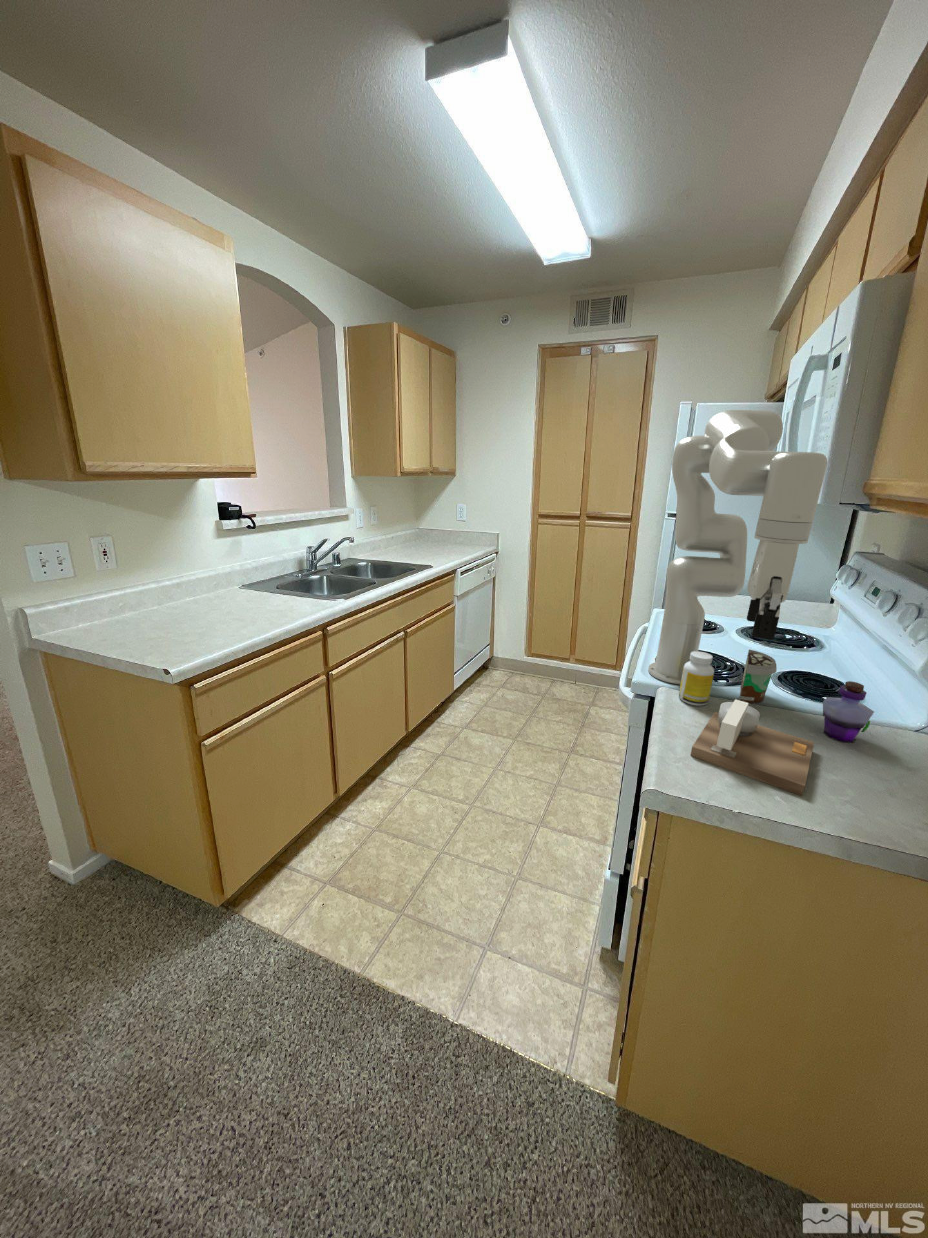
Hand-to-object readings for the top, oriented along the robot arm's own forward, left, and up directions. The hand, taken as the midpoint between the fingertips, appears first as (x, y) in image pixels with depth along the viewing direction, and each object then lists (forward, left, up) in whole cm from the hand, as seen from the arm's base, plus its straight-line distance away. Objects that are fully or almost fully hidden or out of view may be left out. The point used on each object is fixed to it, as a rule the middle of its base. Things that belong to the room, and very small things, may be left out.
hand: (759, 629), depth 85 cm
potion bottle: (-24, +16, -26) cm, 39 cm away
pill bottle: (-20, -12, -26) cm, 35 cm away
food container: (-32, -1, -26) cm, 41 cm away
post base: (-4, +3, -26) cm, 26 cm away
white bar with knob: (-4, -1, -22) cm, 23 cm away
